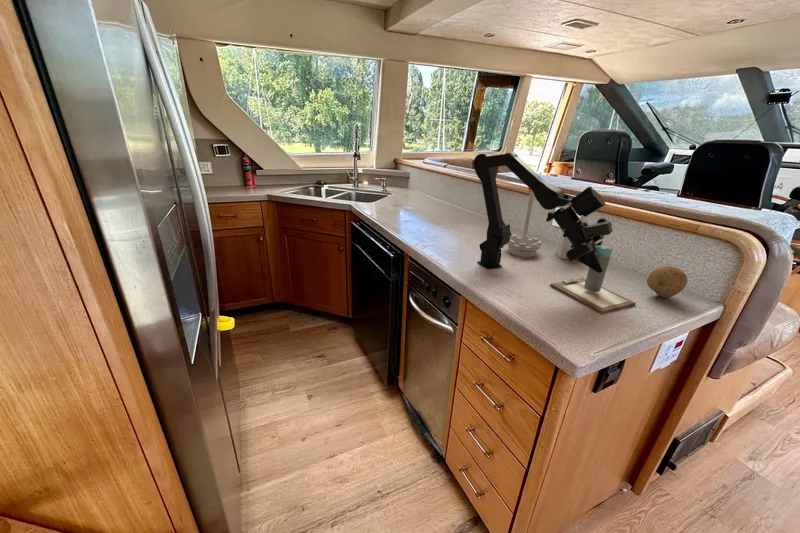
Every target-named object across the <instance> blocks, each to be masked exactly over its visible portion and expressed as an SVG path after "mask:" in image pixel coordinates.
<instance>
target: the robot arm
mask: <svg viewBox="0 0 800 533" xmlns="http://www.w3.org/2000/svg"><path fill="white" fill-rule="evenodd" d="M472 165H473V168H474V172H475V175H476V176H477V178H478V179H479V181H480V182H481V187H482V192H483V198H484V205H485V211H486V216H487V219H488V220H487V222H488V225H487V230H486V239H485V240H484V241H483V242H481V243H480V244H479V250H480V251H481V254H480V260H478V261H477V262H476V263H477V264H478V265H480V266H482V267H483V268H485V269H487V270H491V269H497V268H502V267H503V265H502V264H501V260H502V249H504V247H505V245H507V243H508V242H509V241H510V238H511V235H513V234H512V232H511V225H510V223H509V224H506V223H505V221H504V219H503V215H502V209H501V208H502V207H501V204H500V203H501V202H500V198H499V196H500V195H499V192H498V185H497V175H498V171H499V167H506V168H508V169H509V171H511V172H512V173H513V174H514V175H515V176H516V177H517V178H518V179H519V180H520V181H521V182H522V183H523V184H524V185H525V186H527V187H528V188H530V189H531V190H532V192H533V193H534V198H535V200H536V201H537V202H538V204H539V205H540V206H541V207H542V208H543V209H544V210H548V211H549V210H550V211H549V212H547V217H546V222H548V223H549V222H550V221H553V220H554V221H555V222H556V224H557V226H558V227H559V229H561V230H562V231H563V232H564V234H563V237H564V238H565V237H567V238H568V240H569V241H570V242H571V244H572V246H570V247H571V249H570V250H568V251H567V253H566V257H567V258H568V259H567V260H568V261H569V262H571V261H577V262H579V263H580V264H583V265H584V266H587V267H588V268H589V267H590V268H591V269H593V270H595V271H597V272H598V273H601V272H602V271H603V270H602V268H601V266H600V264H599V262H598V260H597V258H596V256H595V252H596V248H595V246H597V245H600V246H603V242H604V241H603V239H604V238H605V236H608V235H609V236H610V235H611V233H613V228H612V226H613V223H612V222H611V220H608V219H606V218H605V217H601V218H598V219H597V221H596V223H593V224H588V222H587V221H586V222H585V221H582V220H581V218H580V217H581V216H583V217H585V218H586V217H588V216H589V215H592V214H593V213H595V212H597V211H598V210H600V209H602V208H603V207H605V206H606V201H605V199H604V197H603V196H602V195H601V194H600V193H598V191H597V190H595V189H594V188H593V187H592V186H590V185H589V186H588V187H586V188H585V189H583V191H582V192H580V193H578V194H577V195H575V196H574V195H571V194H567V193H566V192H565V191H564V190H562V189H561V188H559V187H557V186H556V185H555V184H552V183H550V182H548V181H546V180H545V179H543V178H542V177H541V176H540V174H538V173H537V172H535V171H534V169H532V168H531V167H530V165H528V164H527V163H526V162H524V161H523V159H521V157H519V155H518V154H517V153H516V152H512V151H511V152H506V153H502V154H501V153H500V154H494V153H491V152H487V153H478V154H477V155H476V156H475V157H474V159H473V162H472ZM569 204H570V205H569ZM565 206H568V207H566V208H564V207H565ZM556 208H557V210H555V209H556ZM551 210H555V211H551ZM564 229H565V230H564ZM598 241H600V242H598Z"/></svg>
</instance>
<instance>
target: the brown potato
mask: <svg viewBox="0 0 800 533" xmlns="http://www.w3.org/2000/svg"><path fill="white" fill-rule="evenodd" d="M646 284H647V286H648V287H649V289H651V290H652V291H653V292H655V294H656V295H657V296H659V297H661V298H663V299H666V298H671V297H674V296H675V295H678V294H680V292H681V291H682V290H684V289H685V287H686V286H687V284H688V277H687V274H686V273H685V271H683V270H682V269H681V268H679V267H676V266H673V265H665V266H664V265H663V266H659V267H657V268H655V269H653V270H652V271H651V272H650V273H649V275H648V276H647V278H646Z"/></svg>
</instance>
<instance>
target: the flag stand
mask: <svg viewBox="0 0 800 533" xmlns="http://www.w3.org/2000/svg"><path fill="white" fill-rule="evenodd" d="M528 192H529V198H528V203H527V210H526V215H525V221H524V226H523V232H522V234H521V237H519V236H518V235H517V234H512V235H511V236H510V241H509V242H508V243H507V244H506V245H507V246H508V247H507V252H509V254H511V253H512V254H511V255H514V256H518V257H523V258H524V257H534V256H536V254H537V252H538V250H540V248H541V245H542V240H540V239H539V238H538V237H532V238H529V235H528V231H529V230H528V229H529V226H530V225H529V223H530V220H531V214H532V208H533V203H534V198H535V195H534V193H533V192H532V190H531V189H530V188H529V187H528Z"/></svg>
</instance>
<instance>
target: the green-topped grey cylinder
mask: <svg viewBox="0 0 800 533" xmlns="http://www.w3.org/2000/svg"><path fill="white" fill-rule="evenodd" d="M595 248H596V252H595V256H596V258H597V260H598V262H599V264H600V266H601V268H602V270H603V271H602V272H601V273H598V272H597V271H595V270H593V269H591V268H590V267H588V271H587V274H586V277H585V279H586V281H585V284H584V288H585V289H586V290H589V291H592V292H599V291H600V290H601V287H603V283H604V279H605V276H606V273H607V270H608V267H609V263H610V259H611V256H612V254H613V250H614V249H613V248H612V247H610V246H605V245H601V246H600V245H597V246H595Z"/></svg>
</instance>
